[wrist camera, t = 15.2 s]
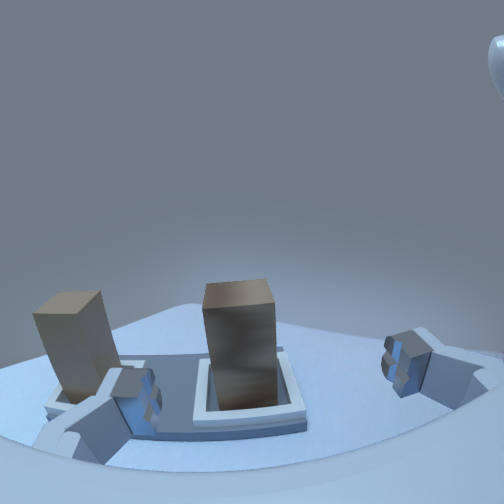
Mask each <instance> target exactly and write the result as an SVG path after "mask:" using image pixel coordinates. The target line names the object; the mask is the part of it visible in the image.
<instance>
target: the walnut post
mask: <svg viewBox="0 0 504 504" xmlns="http://www.w3.org/2000/svg"><path fill="white" fill-rule="evenodd" d="M202 311H203V318H204V325H205V331H206V338H207V344H208V350H209V356H210V362H211V368H212V373H213V379H214V384H215V390H216V395H217V400H218V405H219V410H220V411H230V410H243V409H254V408H263V407H271V406H278V382H277V346H276V318H275V301H274V299H273V296H272V294H271V291H270V289H269V286H268V284H267V281H266V279H256V280H245V281H234V282H222V283H211V284H206V290H205V295H204V302H203V307H202Z"/></svg>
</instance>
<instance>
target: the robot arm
mask: <svg viewBox="0 0 504 504" xmlns="http://www.w3.org/2000/svg"><path fill="white" fill-rule="evenodd" d="M488 66H489V71H490V75H491V78H492V81H493V83H494V86H495V88H496V89H497V91H498V93H499V95H500V96H501V97H502V98H503V100H504V35H502V36H497V37H494V39H493V40H492V42H491V44H490V47H489V53H488ZM384 347H385V349H386V350H387V351H386V352H385V354H384V355H383V356H382V362H381V366H382V372H383V374H384V376H385V378H386V379H387V380H389V381H391V382H393V389H394V390H395V392H396V393H397V394H398V396H399V397H400V398H403V397H406V396H409V395H412V394H415V393H418V392H420V393H421V394H423V395H425V396H427V397H429V398H431V399H433V400H435V401H437V402H439V403H441V404H443V405H445V406H447V407H449V408H451V409H453V410H454V411H452V412H450V413H448V414H446V415H444V416H441V417H439V418H437V419H435V420H433V421H431V422H429V423H426V424H424V425H422V426H419V427H417V428H415V429H412V430H410V431H407V432H405V433H402V434H400V435H397V436H394V437H392V438H389V439H386V440H383V441H380V442H377V443H374V444H371V445H368V446H365V447H362V448H358V449H355V450H351V451H348V452H344V453H340V454H337V455H333V456H328V457H324V458H320V459H315V460H310V461H305V462H300V463H295V464H289V465H283V466H276V467H269V468H260V469H251V470H240V471H225V472H164V471H149V470H138V469H129V468H121V467H114V466H108V465H104V464H105V463H106V462H107V461H108V460H109V459H111V458H112V457H113V456H114V455H115V454H116V453H117V452H118V451H119V450H120V449H121V448H122V446H123V445H124V444H125V443H126V442H127V441H128V440H129V439H130V438H131V437H132V436H133V435H156V433H157V428H158V424H159V420H158V418H157V415H159V414H160V413H161V410H162V396H161V392H160V389H159V387H158V386H157V385H156V384H154V381H155V378H156V377H155V375H154V372H153V370H152V369H151V368H110V369H109V370H108V372H107V374H106V376H105V378H104V380H103V382H102V384H101V386H100V388H99V390H98V391H97V393H96V395H95V396H90V397H89V398H87V399H85V400H84V401H82V402H81V403H79V404H77V405H76V406H74V407H72V408H71V409H69V410H68V411H66V412H64V413H63V414H61V415H59V416H58V417H56V418H54V419H53V420H51V421H49V422H48V423H46V424H44V426H43V428H42V429H41V431H40V433H39V435H38V436H37V438H36V440H35V442H34V444H33V445H32V447H30V446H27V445H24V444H21V443H18V442H16V441H13V440H10V439H8V438H5V437H3V436H0V504H504V363H503V362H502V361H501V360H500V359H499V358H495V357H491V356H487V355H483V354H479V353H475V352H471V351H468V350H464V349H460V348H456V347H452V346H446V347H445V346H444V345H443V344H442V343H441V342H440V341H439V340H437V339H436V338H435V337H434V336H433V335H432V334H431V333H429V332H428V331H427V330H426V329H425V328H423V327H418V328H415V329H411V330H409V331H407V332H403V333H399V334H395V335H392V336H388V337H387V338H386V340H385V343H384Z"/></svg>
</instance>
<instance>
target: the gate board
mask: <svg viewBox="0 0 504 504" xmlns="http://www.w3.org/2000/svg"><path fill="white" fill-rule="evenodd" d="M33 316H34V320H35V323H36V326H37V328H38V331H39V334H40V337H41V339H42V342H43V345H44V347H45V350H46V352H47V355H48V357H49V360H50V362H51V364H52V367H53V369H54V371H55V373H56V376H57V378H58V380H59V384H58V385H57V387H56V388H55V390H54V391H53V393H52V394H51V396H50V397H49V399H48V400H47V402H46V403H45V405H44V407H45V409H46V411H47V413H48V414H47V416H46V417H47V419H48V421H51V420H53V419H54V418H56V417H58V416H59V415H61V414H63V413H64V412H66V411H68V410H69V409H71V408H72V407H74V406H76V405H77V404H79V403H81V402H82V401H84V400H85V399H87V398H89V397H90V396H95V395H96V393H97V391H98V390H99V388H100V386H101V384H102V382H103V380H104V378H105V376H106V374H107V372H108V370H109V369H110V368H151V369H152V370H153V372H154V375H155V377H156V378H155V381H154V384H156V385H157V386H158V387H159V389H160V392H161V396H162V410H161V413H160V414H159V415H157V418H158V420H159V424H158V428H157V433H156V435H133V436H132V437H131V438H133V439H145V440H163V441H217V440H235V439H248V438H258V437H267V436H275V435H282V434H289V433H295V432H301V431H306V429H307V420H306V407H305V404H304V401H303V399H302V396H301V393H300V390H299V387H298V384H297V381H296V378H295V375H294V373H293V370H292V367H291V364H290V361H289V358H288V355H287V352H286V351H283V348H282V347H277V382H278V406H271V407H263V408H254V409H243V410H230V411H220V410H219V405H218V400H217V395H216V390H215V384H214V379H213V373H212V368H211V362H210V356H209V353H205V354H185V355H118V353H117V350H116V346H115V343H114V340H113V337H112V333H111V330H110V326H109V323H108V319H107V315H106V312H105V308H104V304H103V300H102V295H101V291H79V292H59V293H57V294H56V295H55V296H54V297H52V298H51V299H50V300H48V301H47V302H46V303H45V304H43V305H42V306H41V307H40V308H38V309H37V310H36V311H35V312H34V313H33Z"/></svg>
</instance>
